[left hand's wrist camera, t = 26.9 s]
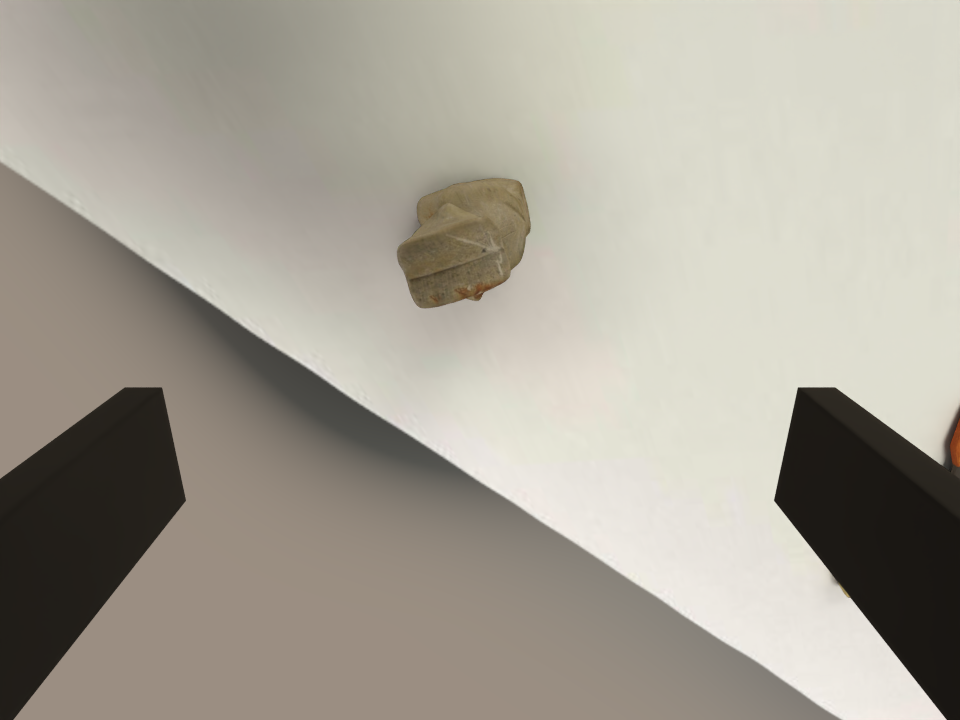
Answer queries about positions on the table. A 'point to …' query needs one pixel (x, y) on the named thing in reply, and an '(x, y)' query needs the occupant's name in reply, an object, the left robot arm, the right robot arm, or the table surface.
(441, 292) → the sculpture
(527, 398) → the table surface
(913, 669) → the left robot arm
